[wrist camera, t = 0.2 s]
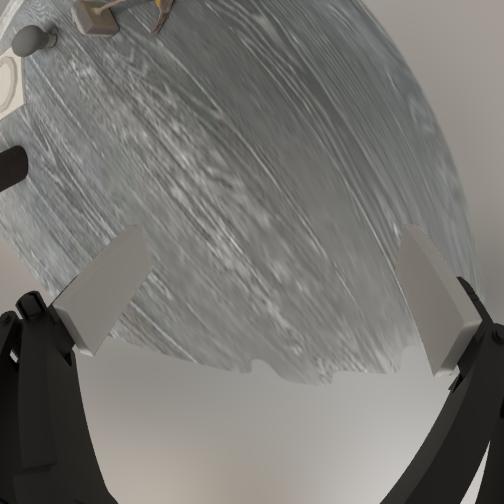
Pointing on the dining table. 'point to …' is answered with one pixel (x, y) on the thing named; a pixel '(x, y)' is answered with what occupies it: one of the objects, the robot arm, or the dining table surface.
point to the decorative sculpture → (108, 17)
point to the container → (12, 167)
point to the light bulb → (31, 41)
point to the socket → (11, 83)
